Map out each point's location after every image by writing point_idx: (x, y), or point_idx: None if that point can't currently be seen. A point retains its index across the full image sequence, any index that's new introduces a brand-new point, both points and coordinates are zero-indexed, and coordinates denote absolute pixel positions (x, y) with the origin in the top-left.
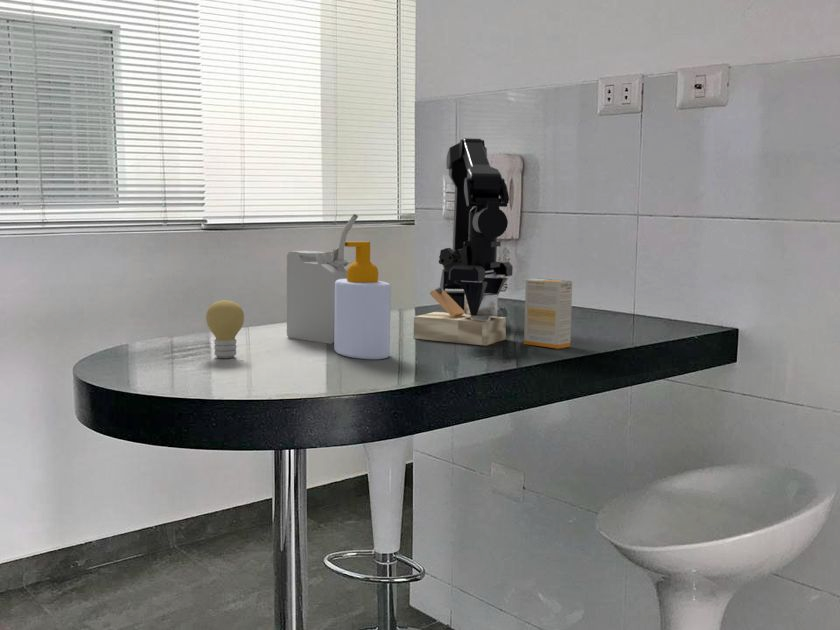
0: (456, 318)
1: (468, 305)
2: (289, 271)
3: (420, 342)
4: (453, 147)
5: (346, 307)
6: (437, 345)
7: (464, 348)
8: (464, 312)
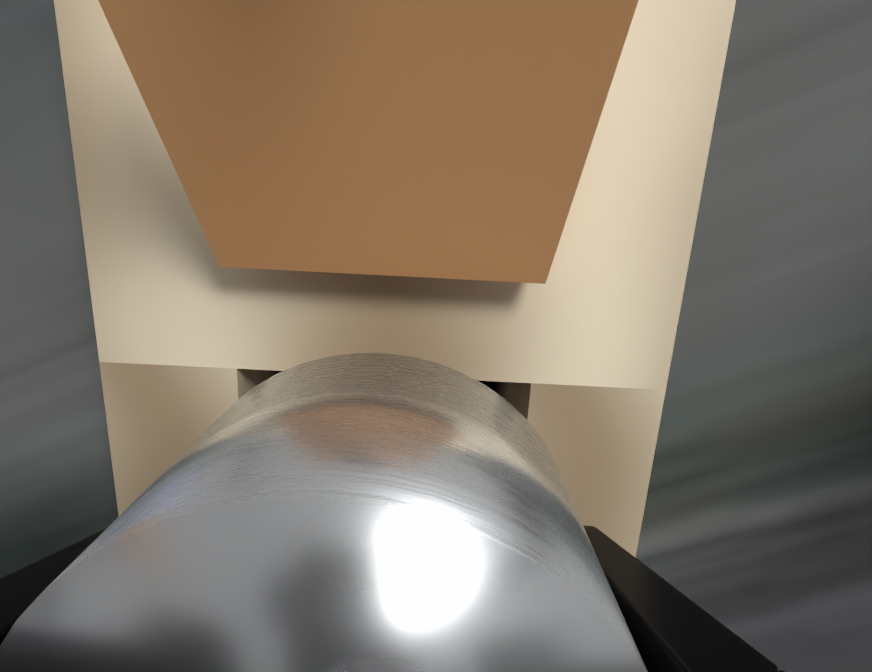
0: (227, 285)
1: (26, 569)
2: None
3: (36, 23)
4: None
5: None
6: (5, 220)
7: (30, 434)
8: (257, 388)
